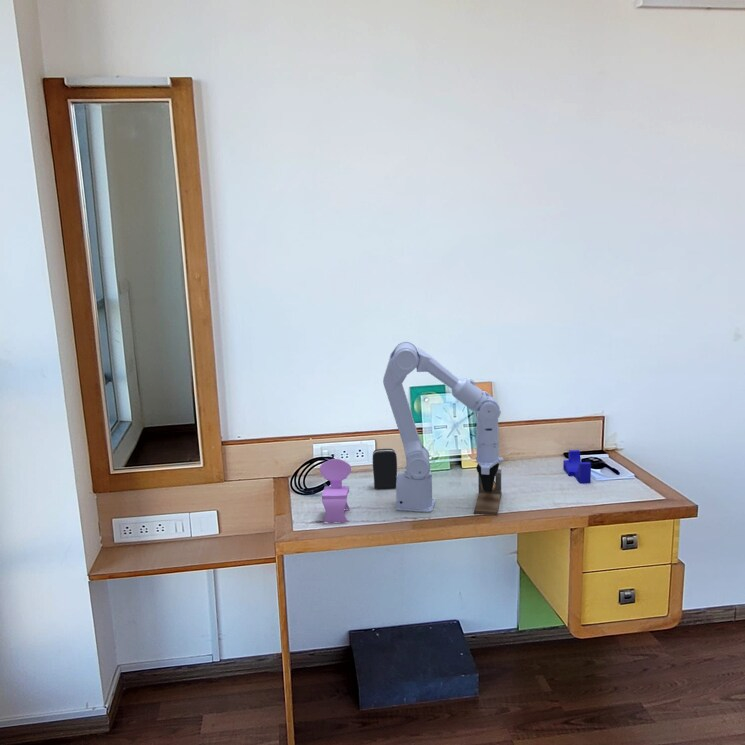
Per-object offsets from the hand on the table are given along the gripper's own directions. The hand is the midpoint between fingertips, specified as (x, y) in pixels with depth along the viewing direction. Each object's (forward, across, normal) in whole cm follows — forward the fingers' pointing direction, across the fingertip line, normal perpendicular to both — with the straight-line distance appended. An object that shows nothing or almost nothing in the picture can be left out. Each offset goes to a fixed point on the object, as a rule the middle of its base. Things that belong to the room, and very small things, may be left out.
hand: (487, 490), depth 186 cm
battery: (+4, +8, +30) cm, 31 cm away
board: (+4, +1, 0) cm, 4 cm away
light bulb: (+1, +6, 0) cm, 6 cm away
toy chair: (+4, -14, +38) cm, 41 cm away
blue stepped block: (+4, +25, -24) cm, 35 cm away
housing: (+3, +7, 0) cm, 7 cm away
